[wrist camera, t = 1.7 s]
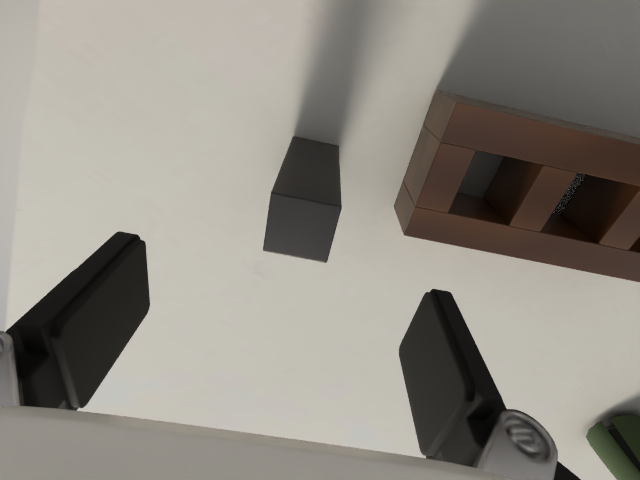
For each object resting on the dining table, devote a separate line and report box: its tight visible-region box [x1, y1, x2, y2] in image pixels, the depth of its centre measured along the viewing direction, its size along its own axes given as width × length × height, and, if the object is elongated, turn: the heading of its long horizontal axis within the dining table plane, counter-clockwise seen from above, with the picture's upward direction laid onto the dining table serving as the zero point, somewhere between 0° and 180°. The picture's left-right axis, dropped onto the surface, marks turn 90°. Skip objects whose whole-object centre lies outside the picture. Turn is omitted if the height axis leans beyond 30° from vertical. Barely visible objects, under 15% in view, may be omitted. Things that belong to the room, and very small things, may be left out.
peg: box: [263, 136, 342, 263], centre depth 18 cm, size 3×3×9 cm
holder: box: [394, 90, 640, 282], centre depth 21 cm, size 8×19×4 cm, turn 79°
